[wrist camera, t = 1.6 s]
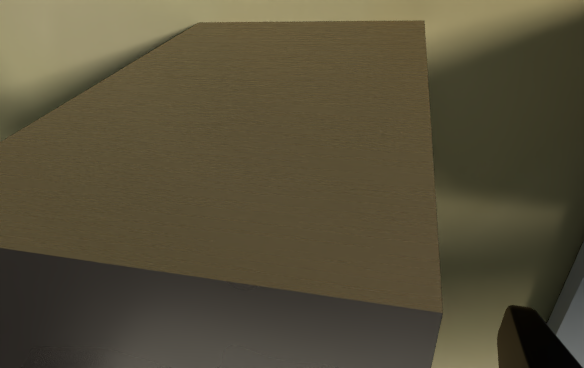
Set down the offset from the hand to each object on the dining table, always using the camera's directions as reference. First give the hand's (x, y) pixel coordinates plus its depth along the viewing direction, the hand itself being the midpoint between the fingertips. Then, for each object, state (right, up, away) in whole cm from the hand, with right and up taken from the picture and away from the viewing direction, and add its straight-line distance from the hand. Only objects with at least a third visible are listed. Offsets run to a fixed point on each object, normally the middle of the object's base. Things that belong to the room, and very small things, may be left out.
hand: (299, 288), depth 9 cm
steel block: (0, +1, +1) cm, 2 cm away
